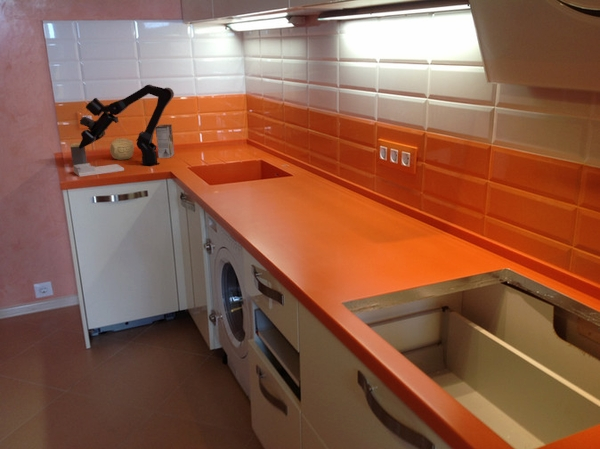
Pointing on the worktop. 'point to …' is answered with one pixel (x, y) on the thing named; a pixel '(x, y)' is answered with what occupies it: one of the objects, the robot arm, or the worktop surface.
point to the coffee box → (164, 141)
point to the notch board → (95, 169)
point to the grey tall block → (78, 154)
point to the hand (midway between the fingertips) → (82, 146)
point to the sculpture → (122, 149)
